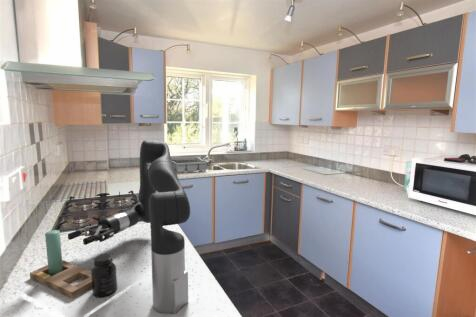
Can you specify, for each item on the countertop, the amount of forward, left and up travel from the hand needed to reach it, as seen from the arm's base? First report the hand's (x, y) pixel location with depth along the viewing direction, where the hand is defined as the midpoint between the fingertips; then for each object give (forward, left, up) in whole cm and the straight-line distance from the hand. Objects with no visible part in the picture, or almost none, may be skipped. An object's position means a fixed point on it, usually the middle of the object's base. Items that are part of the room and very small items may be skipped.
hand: (76, 239), depth 100 cm
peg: (0, +8, -11) cm, 13 cm away
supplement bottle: (-22, +6, -11) cm, 25 cm away
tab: (-6, -2, -10) cm, 12 cm away
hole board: (-6, +8, -10) cm, 14 cm away
